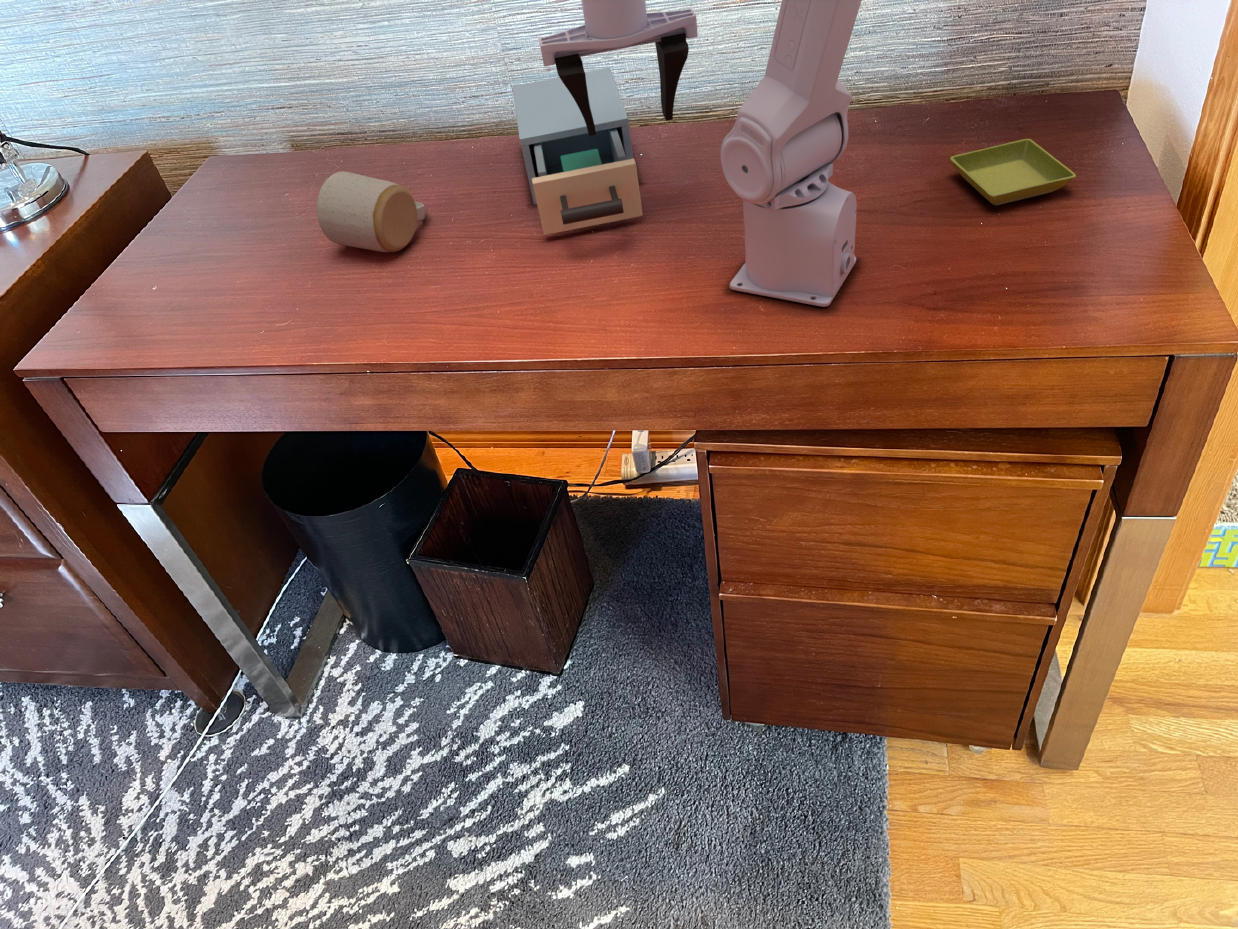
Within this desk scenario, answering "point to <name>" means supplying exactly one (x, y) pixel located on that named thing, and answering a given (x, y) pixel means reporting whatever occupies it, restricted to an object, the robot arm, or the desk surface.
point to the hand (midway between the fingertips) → (629, 123)
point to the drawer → (585, 183)
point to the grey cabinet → (566, 114)
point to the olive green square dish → (1012, 171)
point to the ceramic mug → (367, 212)
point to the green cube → (580, 160)
